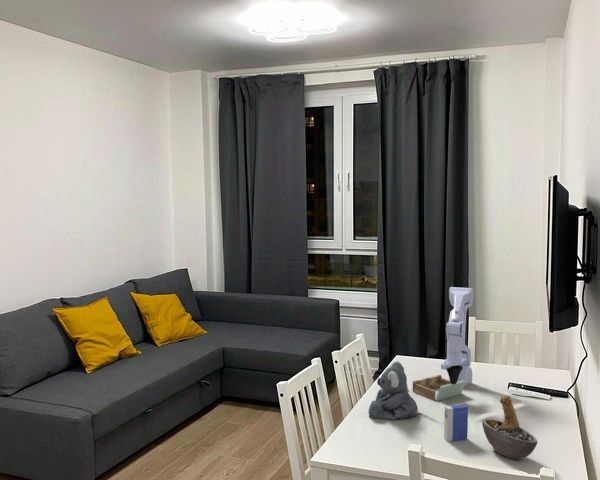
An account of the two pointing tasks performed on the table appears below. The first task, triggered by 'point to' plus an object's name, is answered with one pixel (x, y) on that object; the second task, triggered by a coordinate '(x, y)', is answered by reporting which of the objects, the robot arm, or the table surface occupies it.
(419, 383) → the crate
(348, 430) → the table surface
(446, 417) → the walkman
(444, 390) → the panel
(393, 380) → the koala plush
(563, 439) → the table surface
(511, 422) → the planter
